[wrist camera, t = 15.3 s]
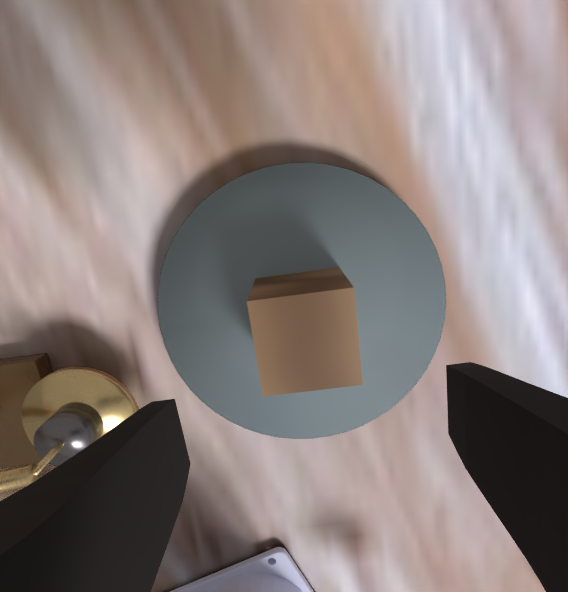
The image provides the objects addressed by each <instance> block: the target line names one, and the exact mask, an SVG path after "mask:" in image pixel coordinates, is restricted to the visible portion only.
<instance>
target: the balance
mask: <svg viewBox="0 0 568 592" xmlns="http://www.w3.org/2000/svg"><path fill="white" fill-rule="evenodd" d="M138 410H139V408H138V406H137V403H136V401H135V399H134V397H133V396H132V394H131V393H130V392H129V390H128V389H127V388H126V387H125V386H124V385H123V384H122V383H121V382H120V381H118V380H117V379H115V378H114V377H113V376H111V375H109V374H107V373H105V372H103V371H100V370H97V369H94V368H89V367H80V366H75V367H66V368H62V369H59V370H56V371H54V372H53V371H52V368H51V365H50V362H49V359H48V356H47V353H45V354H37V355H30V356H22V357H15V358H7V359H0V468H3V467H12V466H20V465H25V466H21V467H16V468H12V469H8V470H4V471H0V493H2V492H6V491H10V490H14V489H18V488H22V487H26V486H28V485H29V484H31V483H33V482H34V481H36V480H38V477H39V473H40V472H41V471H42V470H43V468H44V467H45V466H46V465H47V464H48V463H50V464H52V465H54V466H59V465H61V464H62V463H64V462H65V461H67V460H68V459H70V458H71V457H73V456H74V455H75V454H77V453H78V452H80V451H81V450H83V449H84V448H86V447H87V446H89V445H90V444H92V443H93V442H94V441H96V440H97V439H99V438H100V437H101V436H103V435H104V434H106V433H107V432H108V431H110V430H111V429H113V428H114V427H115V426H117V425H118V424H120V423H121V422H122V421H124V420H125V419H126V418H128V417H129V416H131V415H132V414H134V413H135V412H137V411H138ZM37 463H38V464H37ZM36 464H37V465H36Z"/></svg>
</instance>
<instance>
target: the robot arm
mask: <svg viewBox="0 0 568 592" xmlns="http://www.w3.org/2000/svg"><path fill="white" fill-rule="evenodd" d="M446 369H447V400H448V431H449V436H450V438H451V440H452V442H453V444H454V446H455V448H456V450H457V452H458V454H459V456H460V458H461V460H462V462H463V464H464V466H465V468H466V470H467V471H468V473H469V474H470V476H471V477H472V479H473V480H474V482H475V483H476V485H477V486H478V488H479V489H480V491H481V492H482V494H483V495H484V497H485V498H486V500H487V501H488V503H489V504H490V506H491V507H492V509H493V510H494V512H495V513H496V515H497V516H498V518H499V519H500V521H501V522H502V523H503V525H504V526H505V528H506V529H507V531H508V532H509V534H510V535H511V537H512V538H513V540H514V541H515V543H516V544H517V546H518V547H519V549H520V550H521V552H522V553H523V555H524V556H525V558H526V559H527V561H528V562H529V564H530V566H531V567H532V569H533V570H534V572H535V574H536V575H537V577H538V578H539V580H540V582H541V584H542V585H543V587H544V589H545V591H546V592H568V398H566V397H564V396H561V395H558V394H555V393H553V392H550V391H547V390H545V389H542V388H539V387H537V386H534V385H532V384H529V383H526V382H524V381H521V380H519V379H516V378H514V377H511V376H509V375H506V374H503V373H501V372H498V371H496V370H493V369H490V368H487V367H485V366H482V365H478V364H475V363H471V362H469V363H461V364H453V365H446ZM189 468H190V460H189V456H188V452H187V448H186V444H185V440H184V435H183V431H182V427H181V423H180V419H179V415H178V411H177V407H176V403H175V399H171V400H162V401H154V402H151V403H149V404H148V405H146V406H144V407H143V408H141V409H139V410H138V411H137V412H135V413H134V414H132V415H131V416H129V417H128V418H126V419H125V420H124V421H122V422H121V423H120V424H118V425H117V426H115V427H114V428H113V429H111V430H110V431H108V432H107V433H106V434H104V435H103V436H101V437H100V438H99V439H97V440H96V441H94V442H93V443H92V444H90V445H89V446H87V447H86V448H84V449H83V450H81V451H80V452H78V453H77V454H75V455H74V456H73V457H71V458H70V459H68V460H67V461H65V462H64V463H62V464H61V465H59V466H58V467H56V468H55V469H53V470H52V471H50V472H49V473H47V474H46V475H44V476H42V477H41V478H39V479H38V480H36V481H34V482H33V483H31V484H29V485H28V486H26V487H25V488H23V489H21V490H19V491H18V492H16V493H14V494H12V495H11V496H9V497H7V498H6V499H4V500H2V501H0V592H151V589H152V586H153V583H154V581H155V578H156V575H157V572H158V569H159V567H160V564H161V561H162V558H163V555H164V552H165V550H166V547H167V544H168V541H169V538H170V536H171V533H172V530H173V527H174V524H175V521H176V519H177V516H178V513H179V510H180V507H181V504H182V501H183V497H184V492H185V488H186V483H187V478H188V473H189ZM271 558H274V559H271ZM170 592H314V591H313V589H312V588H311V586H310V585H309V583H308V582H307V581H306V579H305V578H304V576H303V575H302V573H301V572H300V570H299V569H298V567H297V566H296V564H295V563H294V561H293V560H292V558H291V557H290V555H289V554H288V552H287V551H286V550H285V549H284V548H282V547H276V548H273V549H271V550H268V551H266V552H264V553H261V554H259V555H256V556H254V557H252V558H249V559H247V560H244V561H242V562H240V563H237V564H235V565H232V566H230V567H228V568H225V569H223V570H220V571H218V572H216V573H213V574H211V575H208V576H206V577H204V578H201V579H199V580H196V581H194V582H191V583H189V584H187V585H184V586H182V587H179V588H177V589H175V590H172V591H170Z"/></svg>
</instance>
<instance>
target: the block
mask: <svg viewBox="0 0 568 592" xmlns="http://www.w3.org/2000/svg"><path fill="white" fill-rule="evenodd" d="M247 306H248V312H249V318H250V324H251V330H252V335H253V341H254V347H255V353H256V359H257V365H258V371H259V377H260V383H261V389H262V395H263V397H264V396H273V395H281V394H290V393H298V392H307V391H315V390H324V389H332V388H341V387H349V386H358V385H363V381H362V370H361V359H360V348H359V337H358V326H357V315H356V304H355V293H354V287H353V285H352V284H351V283H350V281H349V280H348V278H347V277H346V276H345V274H344V273H343V271H342V270H341V269H340V267H337V268H330V269H322V270H315V271H307V272H300V273H292V274H284V275H277V276H269V277H262V278H255V281H254V284H253V286H252V289H251V292H250V294H249V297H248V299H247Z"/></svg>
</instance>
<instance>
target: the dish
mask: <svg viewBox="0 0 568 592" xmlns="http://www.w3.org/2000/svg"><path fill="white" fill-rule="evenodd" d="M337 267H340V269H341V270H342V271H343V273H344V274H345V276H346V277H347V278H348V280H349V281H350V283H351V284H352V285H353V287H354V293H355V304H356V315H357V326H358V337H359V348H360V359H361V370H362V381H363V385H358V386H349V387H341V388H332V389H324V390H315V391H307V392H298V393H290V394H281V395H273V396H264V397H263V395H262V389H261V383H260V377H259V371H258V365H257V359H256V353H255V347H254V341H253V335H252V330H251V324H250V318H249V312H248V306H247V299H248V297H249V294H250V292H251V289H252V286H253V284H254V281H255V278H262V277H269V276H277V275H284V274H292V273H300V272H307V271H315V270H322V269H330V268H337ZM445 310H446V288H445V279H444V274H443V269H442V264H441V262H440V259H439V256H438V253H437V250H436V247H435V245H434V243H433V241H432V239H431V237H430V236H429V234H428V232H427V230H426V228H425V227H424V226H423V224H422V223H421V221H420V220H419V219H418V217H417V216H416V214H415V213H414V212H413V211H412V210H411V209H410V208H409V207H408V206H407V205H406V204H405V203H404V202H403V201H402V200H401V199H400V198H399V197H397V196H396V195H395V194H394V193H392V192H391V191H390V190H388V189H387V188H386V187H384V186H382V185H381V184H379V183H377V182H375V181H374V180H372V179H370V178H369V177H366V176H364V175H361V174H359V173H356V172H354V171H351V170H349V169H344V168H340V167H336V166H332V165H327V164H318V163H286V164H280V165H275V166H269V167H265V168H262V169H259V170H256V171H253V172H249V173H247V174H245V175H242V176H240V177H238V178H236V179H234V180H232V181H230V182H228V183H227V184H225V185H224V186H222V187H221V188H219V189H218V190H216V191H215V192H213V193H212V194H211V195H209V196H208V197H207V198H206V199H205V200H204V201H203V202H202V203H200V204H199V205H198V206H197V207H196V208H195V209H194V211H193V212H192V213H191V214H190V215H189V216H188V218H187V219H186V220H185V221H184V223H183V224H182V226H181V227H180V229H179V230H178V232H177V234H176V235H175V237H174V238H173V241H172V243H171V245H170V247H169V249H168V252H167V254H166V257H165V260H164V263H163V267H162V270H161V274H160V280H159V287H158V317H159V325H160V330H161V334H162V337H163V341H164V345H165V347H166V350H167V352H168V354H169V357H170V359H171V361H172V363H173V365H174V367H175V368H176V370H177V372H178V374H179V375H180V377H181V378H182V379H183V381H184V382H185V383H186V385H187V386H188V387H189V389H190V390H191V391H192V392H193V393H194V394H195V395H196V396H197V397H198V398H199V399H200V400H201V401H202V402H203V403H205V404H206V405H207V406H208V407H210V408H211V409H212V410H213V411H214V412H216V413H217V414H219V415H221V416H222V417H224V418H226V419H227V420H229V421H231V422H233V423H235V424H237V425H239V426H241V427H243V428H246V429H249V430H252V431H255V432H258V433H261V434H265V435H270V436H275V437H281V438H292V439H310V438H319V437H327V436H332V435H336V434H340V433H344V432H347V431H350V430H352V429H355V428H358V427H360V426H363V425H364V424H366V423H368V422H370V421H372V420H374V419H376V418H378V417H379V416H381V415H382V414H384V413H385V412H387V411H388V410H390V409H391V408H392V407H393V406H395V405H396V404H397V403H398V402H399V401H400V400H402V399H403V398H404V397H405V396H406V395H407V394H408V393H409V391H410V390H411V389H412V388H413V387H414V386H415V385H416V384H417V382H418V381H419V379H420V378H421V376H422V375H423V374H424V372H425V371H426V369H427V367H428V365H429V364H430V362H431V360H432V358H433V356H434V354H435V351H436V349H437V346H438V343H439V341H440V338H441V334H442V329H443V325H444V320H445Z"/></svg>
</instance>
